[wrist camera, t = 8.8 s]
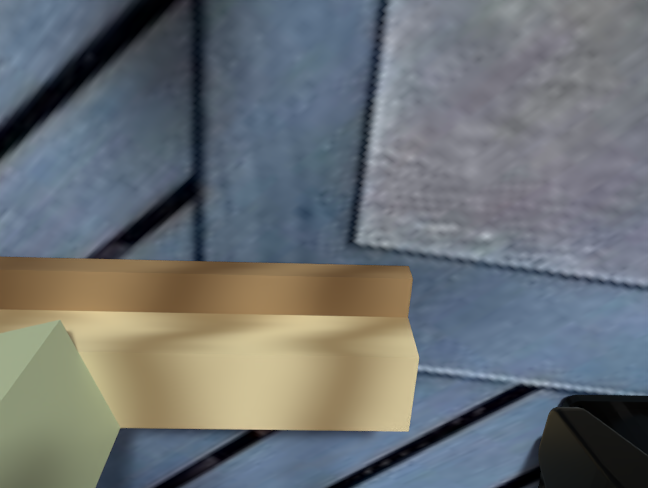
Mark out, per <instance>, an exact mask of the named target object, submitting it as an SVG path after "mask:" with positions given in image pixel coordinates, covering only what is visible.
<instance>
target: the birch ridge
mask: <svg viewBox="0 0 648 488" xmlns="http://www.w3.org/2000/svg"><path fill="white" fill-rule="evenodd" d="M412 281H413V278H412V275H411V272H410V269H409V266H380V265H336V264H293V263H249V262H206V261H162V260H119V259H75V258H32V257H0V333H4V332H8V331H12V330H17V329H21V328H25V327H30V326H34V325H39V324H43V323H47V322H52V321H56V320H61V322H62V324H63V326H64V327H65V329H66V331H67V333H68V335H69V336H70V338H71V340H72V342H73V344H74V345H75V347H76V349H77V351H78V352H79V354H80V356H81V358H82V360H83V361H84V363H85V365H86V367H87V369H88V370H89V372H90V374H91V376H92V377H93V379H94V381H95V383H96V385H97V386H98V388H99V390H100V392H101V394H102V395H103V397H104V399H105V401H106V403H107V404H108V406H109V408H110V410H111V411H112V413H113V415H114V417H115V419H116V420H117V422H118V424H119V426H120V428H169V429H252V430H335V431H409V425H410V418H411V411H412V404H413V397H414V390H415V383H416V376H417V369H418V362H419V355H418V352H417V348H416V344H415V341H414V337H413V334H412V330H411V327H410V323H409V320H408V312H409V305H410V297H411V289H412Z"/></svg>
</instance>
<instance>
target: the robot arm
mask: <svg viewBox="0 0 648 488" xmlns="http://www.w3.org/2000/svg"><path fill="white" fill-rule="evenodd" d="M578 405H579V406H578ZM576 406H577V407H576ZM538 457H539V465H540V469H541V473H540V478H541V479H540V483H539V486H538V488H648V396H626V395H572V396H570V397H568V398H567V399H566V400H565V402H564V404H563V407H556V408H553V409H552V410H551V411H550V413H549V415H548V418H547V422H546V425H545V429H544V432H543V436H542V439H541V442H540V446H539V453H538Z"/></svg>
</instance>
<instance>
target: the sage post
mask: <svg viewBox="0 0 648 488" xmlns="http://www.w3.org/2000/svg"><path fill="white" fill-rule="evenodd" d="M119 430H120V426H119V424H118V422H117V420H116V419H115V417H114V415H113V413H112V411H111V410H110V408H109V406H108V404H107V403H106V401H105V399H104V397H103V395H102V394H101V392H100V390H99V388H98V386H97V385H96V383H95V381H94V379H93V377H92V376H91V374H90V372H89V370H88V369H87V367H86V365H85V363H84V361H83V360H82V358H81V356H80V354H79V352H78V351H77V349H76V347H75V345H74V344H73V342H72V340H71V338H70V336H69V335H68V333H67V331H66V329H65V327H64V326H63V324H62V322H61V320H56V321H52V322H47V323H43V324H39V325H34V326H30V327H25V328H21V329H17V330H12V331H8V332H4V333H0V488H95V487H96V485H97V482H98V480H99V478H100V475H101V473H102V471H103V468H104V466H105V463H106V461H107V459H108V456H109V454H110V452H111V449H112V447H113V444H114V442H115V440H116V437H117V435H118V432H119Z"/></svg>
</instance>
